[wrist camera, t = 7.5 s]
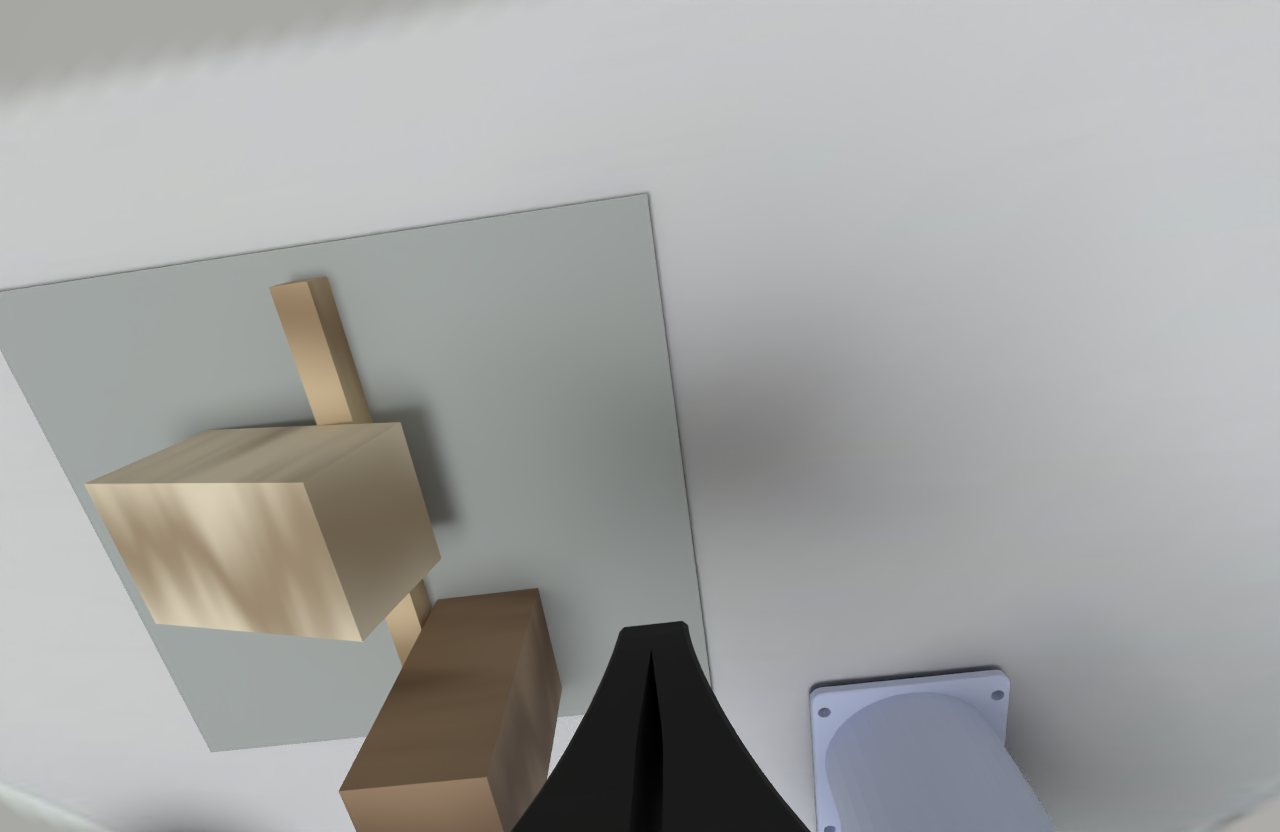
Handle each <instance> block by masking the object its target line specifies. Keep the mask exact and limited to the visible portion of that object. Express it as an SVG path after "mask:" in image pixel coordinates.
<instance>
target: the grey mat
mask: <svg viewBox="0 0 1280 832" xmlns="http://www.w3.org/2000/svg"><path fill="white" fill-rule="evenodd" d="M324 276H327V278H328V281H329V285H330V288H331V291H332V294H333V297H334V300H335V303H336V307H337V310H338V313H339V316H340V319H341V322H342V326H343V329H344V332H345V335H346V338H347V341H348V344H349V348H350V351H351V354H352V357H353V360H354V363H355V367H356V370H357V373H358V376H359V379H360V382H361V385H362V389H363V392H364V395H365V398H366V401H367V404H368V408H369V411H370V414H371V417H372V420H373V423H391V422H401V426H402V429H403V432H404V436H405V439H406V442H407V446H408V449H409V452H410V456H411V459H412V462H413V466H414V469H415V472H416V476H417V479H418V482H419V486H420V489H421V492H422V496H423V499H424V502H425V506H426V509H427V512H428V516H429V519H430V522H431V526H432V529H433V532H434V535H435V539H436V542H437V545H438V549H439V552H440V555H441V560H440V561H439V562H438V563H437V564H436V565H435V566H434V567H433V568H432V569H431V570H430V571H429V572H428V573H427V574H426V576H425V577H424V578H423V581H424V584H425V587H426V591H427V594H428V597H429V600H430V603H431V606H432V608H433V607H434V605H435V603H436V601H437V599H446V598H454V597H463V596H472V595H481V594H489V593H498V592H507V591H516V590H524V589H533V588H538V590H539V594H540V598H541V602H542V606H543V611H544V615H545V619H546V623H547V627H548V631H549V636H550V640H551V644H552V648H553V652H554V656H555V661H556V665H557V669H558V673H559V677H560V681H561V686H562V692H561V698H560V704H559V710H558V716H557V717H563V716H573V715H583V714H586V712H587V710H588V708H589V706H590V703H591V701H592V699H593V697H594V695H595V693H596V691H597V688H598V686H599V684H600V682H601V680H602V678H603V675H604V673H605V670H606V668H607V666H608V663H609V661H610V658H611V655H612V653H613V650H614V647H615V644H616V641H617V638H618V635H619V632H620V631H621V630H622V629H623V628H624V627H630V626H639V625H648V624H657V623H666V622H676V621H683V622H685V623H686V624H688V627H689V633H690V637H691V641H692V644H693V647H694V650H695V653H696V656H697V658H698V661H699V663H700V665H701V668H702V670H703V672H704V674H705V677H706V679H707V681H708V683H709V685H710V687H711V682H710V674H709V666H708V658H707V651H706V643H705V635H704V628H703V620H702V612H701V605H700V597H699V589H698V581H697V574H696V566H695V558H694V551H693V543H692V535H691V528H690V520H689V512H688V504H687V497H686V489H685V481H684V474H683V466H682V458H681V450H680V443H679V435H678V427H677V420H676V412H675V404H674V397H673V389H672V381H671V373H670V366H669V358H668V350H667V343H666V335H665V327H664V320H663V312H662V304H661V296H660V289H659V281H658V273H657V266H656V258H655V250H654V243H653V235H652V227H651V219H650V212H649V204H648V196H647V194H641V195H634V196H628V197H621V198H615V199H608V200H602V201H595V202H588V203H582V204H575V205H569V206H562V207H555V208H549V209H542V210H536V211H529V212H522V213H516V214H509V215H503V216H496V217H489V218H483V219H476V220H470V221H463V222H456V223H450V224H443V225H437V226H430V227H424V228H417V229H410V230H404V231H397V232H391V233H384V234H377V235H371V236H364V237H358V238H351V239H344V240H338V241H331V242H325V243H318V244H311V245H305V246H298V247H292V248H285V249H278V250H272V251H265V252H259V253H252V254H246V255H239V256H232V257H226V258H219V259H213V260H206V261H199V262H193V263H186V264H180V265H173V266H166V267H160V268H153V269H147V270H140V271H133V272H127V273H120V274H114V275H107V276H100V277H94V278H87V279H81V280H74V281H68V282H61V283H54V284H48V285H41V286H35V287H28V288H21V289H15V290H8V291H2V292H0V350H1V352H2V354H3V356H4V358H5V360H6V362H7V364H8V365H9V367H10V369H11V371H12V373H13V375H14V377H15V379H16V381H17V383H18V385H19V387H20V388H21V390H22V392H23V394H24V396H25V398H26V400H27V402H28V404H29V406H30V408H31V409H32V411H33V413H34V415H35V417H36V419H37V421H38V423H39V425H40V427H41V429H42V430H43V432H44V434H45V436H46V438H47V440H48V442H49V444H50V446H51V448H52V450H53V451H54V453H55V455H56V457H57V459H58V461H59V463H60V465H61V467H62V469H63V471H64V472H65V474H66V476H67V478H68V480H69V482H70V484H71V486H72V488H73V490H74V492H75V493H76V495H77V497H78V499H79V501H80V503H81V505H82V507H83V509H84V511H85V513H86V515H87V516H88V518H89V520H90V522H91V524H92V526H93V528H94V530H95V532H96V534H97V536H98V537H99V539H100V541H101V543H102V545H103V547H104V549H105V551H106V553H107V555H108V557H109V558H110V560H111V562H112V564H113V566H114V568H115V570H116V572H117V574H118V576H119V578H120V579H121V581H122V583H123V585H124V587H125V589H126V591H127V593H128V595H129V597H130V599H131V600H132V602H133V604H134V606H135V608H136V610H137V612H138V614H139V616H140V618H141V620H142V621H143V623H144V625H145V627H146V629H147V631H148V633H149V635H150V637H151V639H152V641H153V642H154V644H155V646H156V648H157V650H158V652H159V654H160V656H161V658H162V660H163V662H164V664H165V665H166V667H167V669H168V671H169V673H170V675H171V677H172V679H173V681H174V683H175V685H176V686H177V688H178V690H179V692H180V694H181V696H182V698H183V700H184V702H185V704H186V706H187V707H188V709H189V711H190V713H191V715H192V717H193V719H194V721H195V723H196V725H197V727H198V728H199V730H200V732H201V734H202V736H203V738H204V740H205V742H206V744H207V746H208V748H209V749H210V751H211V752H219V751H228V750H238V749H248V748H258V747H268V746H278V745H288V744H297V743H307V742H317V741H327V740H337V739H347V738H357V737H366V736H367V735H368V733H369V731H370V730H371V728H372V726H373V724H374V722H375V720H376V718H377V716H378V714H379V712H380V710H381V708H382V706H383V704H384V702H385V700H386V698H387V696H388V694H389V692H390V690H391V689H392V687H393V685H394V683H395V681H396V679H397V677H398V675H399V673H400V671H401V669H402V665H401V662H400V659H399V656H398V653H397V650H396V647H395V645H394V642H393V639H392V636H391V633H390V630H389V628H388V625H387V622H386V619H384V620H383V621H382V622H381V623H380V624H379V625H378V626H377V627H376V628H375V629H374V630H373V631H372V632H371V633H370V635H369V636H368V637H367V638H366V639H365V640H364V641H363V642H358V641H347V640H335V639H324V638H312V637H301V636H290V635H278V634H267V633H256V632H244V631H233V630H221V629H210V628H199V627H187V626H176V625H164V624H156V623H155V621H154V619H153V617H152V615H151V613H150V611H149V610H148V608H147V606H146V604H145V602H144V600H143V598H142V596H141V594H140V592H139V590H138V588H137V586H136V584H135V582H134V580H133V578H132V577H131V575H130V573H129V571H128V569H127V567H126V565H125V563H124V561H123V559H122V557H121V555H120V553H119V551H118V549H117V547H116V545H115V543H114V542H113V540H112V538H111V536H110V534H109V532H108V530H107V528H106V526H105V524H104V522H103V520H102V518H101V516H100V514H99V512H98V510H97V509H96V507H95V505H94V503H93V501H92V499H91V497H90V495H89V493H88V491H87V489H86V487H85V485H84V484H85V483H87V482H89V481H92V480H94V479H96V478H99V477H101V476H103V475H105V474H108V473H110V472H112V471H115V470H117V469H119V468H121V467H124V466H126V465H128V464H131V463H133V462H135V461H138V460H140V459H142V458H144V457H147V456H149V455H151V454H154V453H156V452H158V451H160V450H163V449H165V448H167V447H170V446H172V445H174V444H177V443H179V442H181V441H183V440H186V439H188V438H190V437H193V436H195V435H197V434H199V433H202V432H204V431H206V430H218V429H243V428H267V427H292V426H317V423H316V420H315V417H314V415H313V412H312V409H311V406H310V403H309V400H308V398H307V395H306V392H305V389H304V386H303V383H302V381H301V378H300V375H299V372H298V369H297V366H296V363H295V361H294V358H293V355H292V352H291V349H290V346H289V344H288V341H287V338H286V335H285V332H284V329H283V327H282V324H281V321H280V318H279V315H278V312H277V310H276V307H275V304H274V301H273V298H272V295H271V293H270V290H269V287H271V286H275V285H279V284H283V283H287V282H291V281H297V280H304V279H311V278H318V277H324Z"/></svg>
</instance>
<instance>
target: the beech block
mask: <svg viewBox="0 0 1280 832" xmlns="http://www.w3.org/2000/svg"><path fill="white" fill-rule="evenodd" d="M84 485H85V487H86V489H87V491H88V493H89V495H90V497H91V499H92V501H93V503H94V505H95V507H96V509H97V510H98V512H99V514H100V516H101V518H102V520H103V522H104V524H105V526H106V528H107V530H108V532H109V534H110V536H111V538H112V540H113V542H114V543H115V545H116V547H117V549H118V551H119V553H120V555H121V557H122V559H123V561H124V563H125V565H126V567H127V569H128V571H129V573H130V575H131V577H132V578H133V580H134V582H135V584H136V586H137V588H138V590H139V592H140V594H141V596H142V598H143V600H144V602H145V604H146V606H147V608H148V610H149V611H150V613H151V615H152V617H153V619H154V621H155V623H156V624H164V625H176V626H187V627H199V628H210V629H221V630H233V631H244V632H256V633H267V634H278V635H290V636H301V637H312V638H324V639H335V640H347V641H358V642H363V641H364V640H365V639H366V638H367V637H368V636H369V635H370V633H371V632H372V631H373V630H374V629H375V628H376V627H377V626H378V625H379V624H380V623H381V622H382V621H383V620H384V619H385V618H386V617H387V616H388V615H389V613H390V612H391V611H392V610H393V609H394V608H395V607H396V606H397V605H398V604H399V603H400V602H401V601H402V600H403V599H404V598H405V597H406V596H407V595H408V593H409V592H410V591H411V590H412V589H413V588H414V587H415V586H416V585H417V584H418V583H419V582H420V581H421V580H422V579H423V578H424V577H425V576H426V574H427V573H428V572H429V571H430V570H431V569H432V568H433V567H434V566H435V565H436V564H437V563H438V562H439V561H440V560H441V555H440V552H439V549H438V545H437V542H436V539H435V535H434V532H433V529H432V526H431V522H430V519H429V516H428V512H427V509H426V506H425V502H424V499H423V496H422V492H421V489H420V486H419V482H418V479H417V476H416V472H415V469H414V466H413V462H412V459H411V456H410V452H409V449H408V446H407V442H406V439H405V436H404V432H403V429H402V426H401V422H391V423H366V424H341V425H317V426H292V427H267V428H243V429H218V430H206V431H204V432H202V433H199V434H197V435H195V436H193V437H190V438H188V439H186V440H183V441H181V442H179V443H177V444H174V445H172V446H170V447H167V448H165V449H163V450H160V451H158V452H156V453H154V454H151V455H149V456H147V457H144V458H142V459H140V460H138V461H135V462H133V463H131V464H128V465H126V466H124V467H121V468H119V469H117V470H115V471H112V472H110V473H108V474H105V475H103V476H101V477H99V478H96V479H94V480H92V481H89V482H87V483H85V484H84Z"/></svg>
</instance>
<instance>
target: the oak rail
mask: <svg viewBox="0 0 1280 832" xmlns="http://www.w3.org/2000/svg"><path fill="white" fill-rule="evenodd" d="M269 290H270V293H271V295H272V298H273V301H274V304H275V307H276V310H277V312H278V315H279V318H280V321H281V324H282V327H283V329H284V332H285V335H286V338H287V341H288V344H289V346H290V349H291V352H292V355H293V358H294V361H295V363H296V366H297V369H298V372H299V375H300V378H301V381H302V383H303V386H304V389H305V392H306V395H307V398H308V400H309V403H310V406H311V409H312V412H313V415H314V417H315V420H316V423H317V425H341V424H366V423H373V420H372V417H371V414H370V411H369V408H368V404H367V401H366V398H365V395H364V392H363V389H362V385H361V382H360V379H359V376H358V373H357V370H356V367H355V363H354V360H353V357H352V354H351V351H350V348H349V344H348V341H347V338H346V335H345V332H344V329H343V326H342V322H341V319H340V316H339V313H338V310H337V307H336V303H335V300H334V297H333V294H332V291H331V288H330V285H329V281H328V278H327V276H324V277H318V278H311V279H304V280H297V281H291V282H287V283H283V284H279V285H275V286H271V287H269ZM431 610H432V606H431V603H430V600H429V597H428V594H427V591H426V587H425V584H424V581H423V579H422V580H421V581H420V582H419V583H418V584H417V585H416V586H415V587H414V588H413V589H412V590H411V591H410V592H409V593H408V595H407V596H406V597H405V598H404V599H403V600H402V601H401V602H400V603H399V604H398V605H397V606H396V607H395V608H394V609H393V610H392V611H391V612H390V613H389V615H388V616H387V617H386V618H385V619H386V622H387V625H388V628H389V630H390V633H391V636H392V639H393V642H394V645H395V647H396V650H397V653H398V656H399V659H400V662H401V665H402V667H403V665H404V663H405V661H406V659H407V657H408V655H409V653H410V651H411V649H412V648H413V646H414V644H415V642H416V640H417V638H418V636H419V634H420V632H421V630H422V628H423V626H424V624H425V622H426V620H427V618H428V616H429V614H430V612H431Z"/></svg>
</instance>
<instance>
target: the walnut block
mask: <svg viewBox="0 0 1280 832" xmlns="http://www.w3.org/2000/svg"><path fill="white" fill-rule="evenodd" d="M561 692H562V686H561V681H560V677H559V673H558V669H557V665H556V661H555V656H554V652H553V648H552V644H551V640H550V636H549V631H548V627H547V623H546V619H545V615H544V611H543V606H542V602H541V598H540V594H539V590H538V588H533V589H524V590H516V591H507V592H498V593H489V594H481V595H472V596H463V597H454V598H446V599H437V601H436V603H435V605H434V607H433V608H432V610H431V612H430V614H429V616H428V618H427V620H426V622H425V624H424V626H423V628H422V630H421V632H420V634H419V636H418V638H417V640H416V642H415V644H414V646H413V648H412V649H411V651H410V653H409V655H408V657H407V659H406V661H405V663H404V665H403V667H402V669H401V671H400V673H399V675H398V677H397V679H396V681H395V683H394V685H393V687H392V689H391V690H390V692H389V694H388V696H387V698H386V700H385V702H384V704H383V706H382V708H381V710H380V712H379V714H378V716H377V718H376V720H375V722H374V724H373V726H372V728H371V730H370V731H369V733H368V735H367V737H366V739H365V741H364V743H363V745H362V747H361V749H360V751H359V753H358V755H357V757H356V759H355V761H354V763H353V765H352V767H351V769H350V771H349V772H348V774H347V776H346V778H345V780H344V782H343V784H342V786H341V788H340V790H339V793H340V795H341V797H342V800H343V802H344V804H345V807H346V809H347V811H348V813H349V816H350V818H351V820H352V823H353V825H354V827H355V829H356V832H510V831H511V830H512V828H513V827H514V826H515V825H516V823H517V822H518V821H519V819H520V818H521V816H522V815H523V814H524V812H525V811H526V809H527V808H528V807H529V805H530V804H531V803H532V801H533V800H534V798H535V797H536V796H537V794H538V793H539V791H540V790H541V788H542V787H543V785H544V784H545V782H546V781H547V775H548V769H549V763H550V757H551V752H552V746H553V740H554V734H555V728H556V722H557V716H558V710H559V704H560V698H561Z"/></svg>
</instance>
